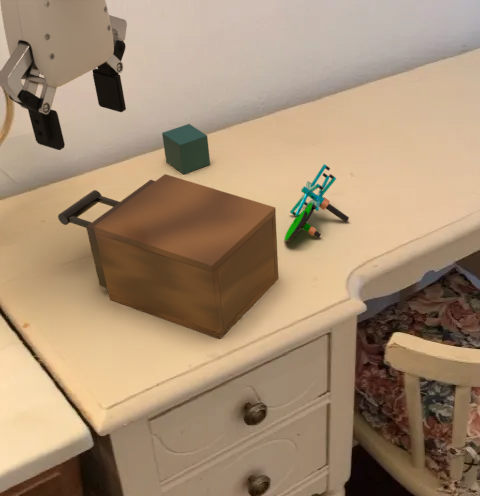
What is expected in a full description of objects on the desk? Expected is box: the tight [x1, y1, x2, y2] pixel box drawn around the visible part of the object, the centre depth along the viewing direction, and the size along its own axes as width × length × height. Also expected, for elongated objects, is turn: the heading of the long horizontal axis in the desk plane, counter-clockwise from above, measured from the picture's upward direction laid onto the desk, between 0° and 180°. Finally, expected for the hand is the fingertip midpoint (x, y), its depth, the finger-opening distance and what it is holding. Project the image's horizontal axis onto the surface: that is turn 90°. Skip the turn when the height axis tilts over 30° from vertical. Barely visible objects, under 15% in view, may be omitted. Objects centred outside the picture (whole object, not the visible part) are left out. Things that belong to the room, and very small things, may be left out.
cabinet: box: [94, 173, 280, 340], centre depth 93 cm, size 15×13×10 cm
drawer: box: [57, 179, 156, 290], centre depth 94 cm, size 20×11×8 cm, turn 65°
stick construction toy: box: [284, 163, 350, 243], centre depth 105 cm, size 12×7×8 cm
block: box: [161, 123, 211, 175], centre depth 115 cm, size 4×4×4 cm
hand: (83, 126), depth 87 cm, fingers open, 9 cm apart
